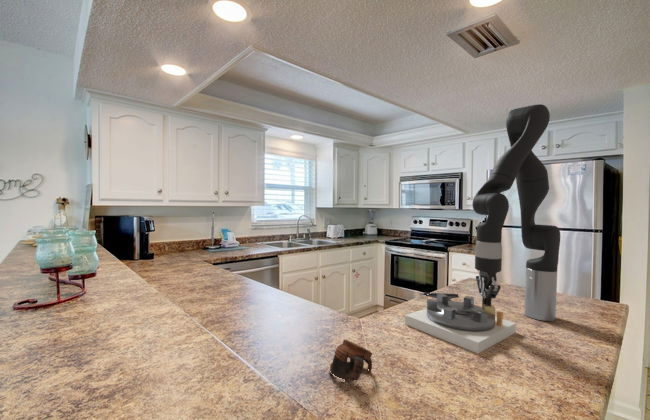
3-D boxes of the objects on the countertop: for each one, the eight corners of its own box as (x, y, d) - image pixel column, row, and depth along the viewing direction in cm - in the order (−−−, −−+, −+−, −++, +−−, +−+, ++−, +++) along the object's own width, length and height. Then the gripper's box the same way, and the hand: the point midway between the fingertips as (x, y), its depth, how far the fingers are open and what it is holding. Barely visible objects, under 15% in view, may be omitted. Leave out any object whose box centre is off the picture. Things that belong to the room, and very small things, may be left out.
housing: (445, 310, 115) (446, 291, 115) (515, 332, 96) (516, 310, 96) (404, 324, 101) (405, 303, 100) (477, 353, 81) (478, 327, 81)
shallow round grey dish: (484, 311, 106) (485, 296, 105) (504, 335, 86) (505, 317, 86) (424, 305, 110) (424, 291, 110) (429, 326, 91) (430, 310, 91)
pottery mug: (322, 368, 73) (335, 334, 76) (356, 383, 75) (368, 349, 77) (335, 383, 62) (351, 343, 65) (376, 401, 63) (389, 361, 66)
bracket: (432, 307, 120) (432, 300, 120) (423, 295, 135) (423, 289, 135) (470, 309, 119) (470, 302, 119) (456, 297, 134) (457, 291, 134)
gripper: (511, 260, 91) (509, 317, 91) (491, 252, 104) (489, 302, 104) (484, 259, 91) (483, 316, 92) (468, 251, 105) (466, 301, 105)
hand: (486, 309), depth 98 cm, fingers closed
